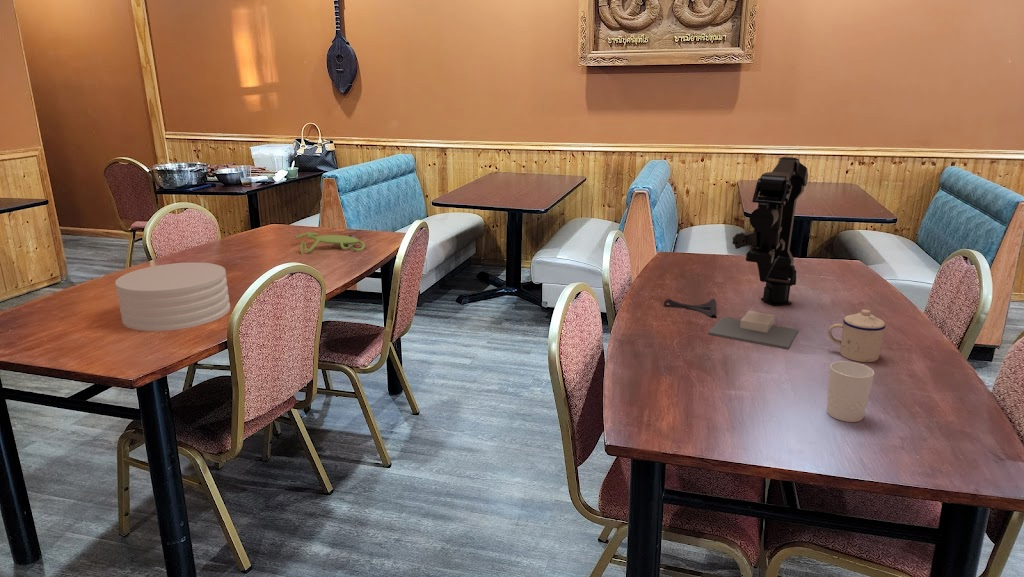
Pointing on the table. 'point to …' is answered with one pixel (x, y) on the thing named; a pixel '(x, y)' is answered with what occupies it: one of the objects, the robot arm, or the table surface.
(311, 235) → the figurine
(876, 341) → the teacup with lid
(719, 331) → the mat
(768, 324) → the tile
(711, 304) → the bracket
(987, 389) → the table surface
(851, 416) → the white cup
